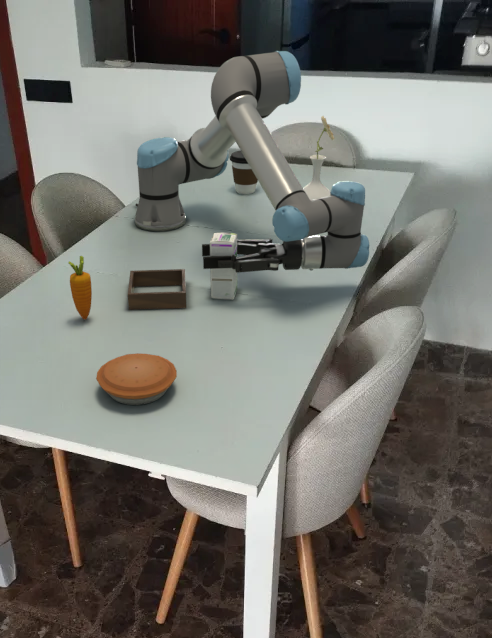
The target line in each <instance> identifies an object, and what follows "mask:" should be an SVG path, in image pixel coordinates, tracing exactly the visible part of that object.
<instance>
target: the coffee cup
mask: <svg viewBox="0 0 492 638" xmlns="http://www.w3.org/2000/svg"><path fill="white" fill-rule="evenodd" d="M230 154H231V155H230V156H229V161H230V162H231V170H232V176H233V183H234V188H235V191H236V193H238V194H240V195H251V194H254V193H255V192H256V190H257V186H258V185H257V184H258V183H259V181H258V179H257V178H256V176H255V174H254V172H253V171H252V169H251V167H250V166H249V164H248V162H247V160H246V159H245V157H244V155H243V153H242V152H241V150H236V151H234V152H233V151H232V153H230Z"/></svg>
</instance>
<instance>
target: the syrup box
mask: <svg viewBox="0 0 492 638" xmlns="http://www.w3.org/2000/svg"><path fill="white" fill-rule="evenodd" d="M237 239H238V234H237V233H234V232H214V233H213V236H211V239H210V241H209V244H210V256H232V255H233V254H234V255H235V256H236V257H238V254H237ZM209 272H210V298H211V299H214V300H215V299H216V300H230V301H231V300H234V299H235V296H236V294H237V291H238V273H237V272H235V269H232V268H218V269H209Z"/></svg>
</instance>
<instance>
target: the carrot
mask: <svg viewBox="0 0 492 638" xmlns="http://www.w3.org/2000/svg"><path fill="white" fill-rule="evenodd" d="M84 259H85V257H84V256H83V255H80V256H79V265H78V264H74V263H73V262H71V261H68V262H67V263H68V264H69V266H70V267H71V268H72V270H73V271H74V272H73V273H71V274H70V275H69V285H70V293H71V297H72V300H73V304H74V307H75V309H76V312H77V313H78V314H79V316H80V317H81V319H82V320H84V321H87V319H88V318H89V315H90V313H91V308H92V299H93V290H92V278H91V274H90V273H88V272H85V271H84V265H85V262H84V261H85V260H84Z"/></svg>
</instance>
